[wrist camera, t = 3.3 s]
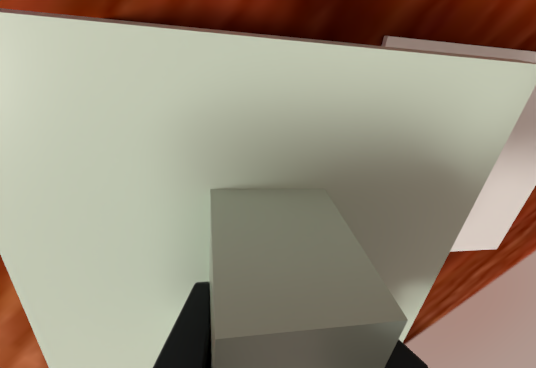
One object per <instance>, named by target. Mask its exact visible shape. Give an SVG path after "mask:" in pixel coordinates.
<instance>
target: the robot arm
mask: <svg viewBox="0 0 536 368" xmlns="http://www.w3.org/2000/svg"><path fill="white" fill-rule="evenodd" d="M210 345H211V313H210V282H208V281H206V282H196V283H195V284H194V286H193V288H192V290H191V292H190V294H189V296H188V298H187V300H186V302H185V304H184V306H183V308H182V310H181V312H180V314H179V316H178V318H177V320H176V322H175V324H174V326H173V328H172V330H171V332H170V334H169V336H168V338H167V340H166V342H165V344H164V346H163V348H162V350H161V352H160V354H159V356H158V358H157V360H156V362H155V364H154V366H153V368H210ZM384 368H428V366H427V365H426V364H425V363H424V362H423V361H422V360H421V359H420V358H419V357H418V356H416V355H415V354H414V353H413V352H412V351H411V350H410V349H409V348H408V347H407V346H406V345H404V344H403V343H402V342H401V341H400V340H399V339H398V341H397V343H396V345H395V347H394V349H393V351H392V353H391V355H390V357H389V359H388V361H387V363H386V365H385V367H384Z"/></svg>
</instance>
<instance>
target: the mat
mask: <svg viewBox="0 0 536 368" xmlns="http://www.w3.org/2000/svg"><path fill="white" fill-rule="evenodd" d="M382 46H385V47H395V48H405V49H415V50H425V51H435V52H445V53H455V54H465V55H476V56H486V57H496V58H506V59H516V60H522V61H527V62H532V63H536V52H534V51H525V50H515V49H506V48H497V47H487V46H478V45H468V44H459V43H450V42H440V41H431V40H421V39H412V38H402V37H393V36H384V38H383V42H382ZM535 185H536V85H535V87H534V89H533V91H532V93H531V95H530V97H529V99H528V101H527V103H526V105H525V107H524V109H523V111H522V113H521V115H520V116H519V118H518V120H517V122H516V124H515V126H514V128H513V130H512V132H511V134H510V136H509V138H508V140H507V142H506V144H505V146H504V147H503V149H502V151H501V153H500V155H499V157H498V159H497V161H496V163H495V165H494V167H493V169H492V171H491V173H490V175H489V177H488V178H487V180H486V182H485V184H484V186H483V188H482V190H481V192H480V194H479V196H478V198H477V200H476V202H475V204H474V206H473V208H472V209H471V211H470V213H469V215H468V217H467V219H466V221H465V223H464V225H463V227H462V229H461V231H460V233H459V235H458V237H457V239H456V240H455V242H454V244H453V246H452V248H451V250H450V251H469V250H489V249H497V248H498V246H499V245H500V243H501V241H502V240H503V238H504V236H505V235H506V233H507V232H508V230H509V228H510V227H511V225H512V223H513V222H514V220H515V218H516V217H517V215H518V213H519V212H520V210H521V208H522V207H523V205H524V204H525V202H526V200H527V199H528V197H529V195H530V194H531V192H532V190H533V189H534V187H535Z"/></svg>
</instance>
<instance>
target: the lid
mask: <svg viewBox="0 0 536 368" xmlns="http://www.w3.org/2000/svg"><path fill="white" fill-rule="evenodd" d="M535 85H536V63H532V62H527V61H522V60H516V59H506V58H496V57H486V56H476V55H465V54H455V53H445V52H435V51H425V50H415V49H405V48H395V47H385V46H375V45H365V44H355V43H345V42H334V41H324V40H314V39H304V38H294V37H284V36H274V35H264V34H254V33H244V32H234V31H224V30H214V29H203V28H193V27H183V26H173V25H163V24H153V23H143V22H133V21H123V20H113V19H103V18H93V17H82V16H72V15H62V14H52V13H42V12H32V11H22V10H12V9H2V8H0V254H1V257H2V259H3V261H4V264H5V266H6V268H7V271H8V273H9V275H10V278H11V280H12V282H13V285H14V287H15V289H16V292H17V294H18V296H19V299H20V301H21V303H22V306H23V308H24V310H25V313H26V315H27V317H28V320H29V322H30V324H31V327H32V329H33V331H34V334H35V336H36V338H37V341H38V343H39V345H40V348H41V350H42V352H43V355H44V357H45V359H46V362H47V364H48V366H49V368H153V366H154V364H155V362H156V360H157V358H158V356H159V354H160V352H161V350H162V348H163V346H164V344H165V342H166V340H167V338H168V336H169V334H170V332H171V330H172V328H173V326H174V324H175V322H176V320H177V318H178V316H179V314H180V312H181V310H182V308H183V306H184V304H185V302H186V300H187V298H188V296H189V294H190V292H191V290H192V288H193V286H194V284H195V283H196V282H206V281H208V282H210V313H211V345H210V368H384V367H385V365H386V363H387V361H388V359H389V357H390V355H391V353H392V351H393V349H394V347H395V345H396V343H397V341H398V339H399V340H400V341H401V342H402V343H403V341H404V339H405V337H406V335H407V334H408V332H409V330H410V328H411V326H412V324H413V322H414V320H415V318H416V316H417V314H418V312H419V310H420V308H421V306H422V304H423V302H424V301H425V299H426V297H427V295H428V293H429V291H430V289H431V287H432V285H433V283H434V281H435V279H436V277H437V275H438V273H439V271H440V270H441V268H442V266H443V264H444V262H445V260H446V258H447V256H448V254H449V252H450V250H451V248H452V246H453V244H454V242H455V240H456V239H457V237H458V235H459V233H460V231H461V229H462V227H463V225H464V223H465V221H466V219H467V217H468V215H469V213H470V211H471V209H472V208H473V206H474V204H475V202H476V200H477V198H478V196H479V194H480V192H481V190H482V188H483V186H484V184H485V182H486V180H487V178H488V177H489V175H490V173H491V171H492V169H493V167H494V165H495V163H496V161H497V159H498V157H499V155H500V153H501V151H502V149H503V147H504V146H505V144H506V142H507V140H508V138H509V136H510V134H511V132H512V130H513V128H514V126H515V124H516V122H517V120H518V118H519V116H520V115H521V113H522V111H523V109H524V107H525V105H526V103H527V101H528V99H529V97H530V95H531V93H532V91H533V89H534V87H535Z"/></svg>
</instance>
